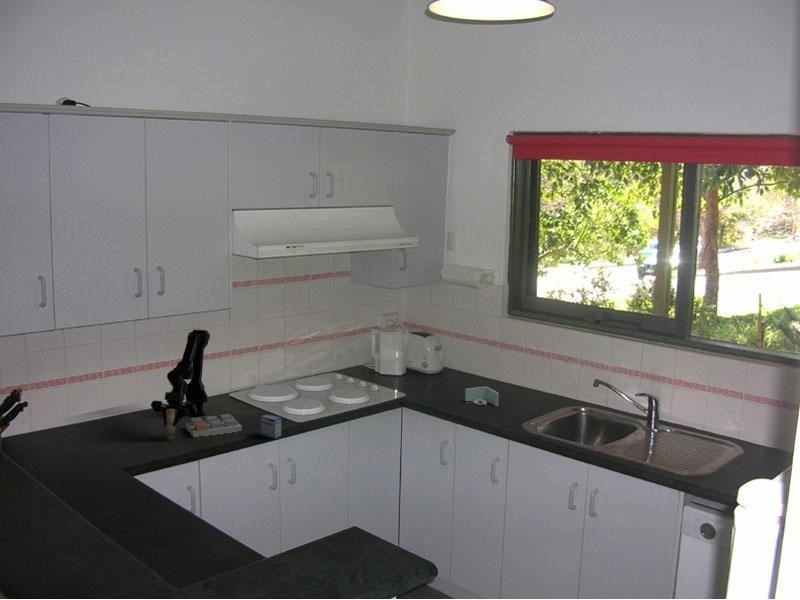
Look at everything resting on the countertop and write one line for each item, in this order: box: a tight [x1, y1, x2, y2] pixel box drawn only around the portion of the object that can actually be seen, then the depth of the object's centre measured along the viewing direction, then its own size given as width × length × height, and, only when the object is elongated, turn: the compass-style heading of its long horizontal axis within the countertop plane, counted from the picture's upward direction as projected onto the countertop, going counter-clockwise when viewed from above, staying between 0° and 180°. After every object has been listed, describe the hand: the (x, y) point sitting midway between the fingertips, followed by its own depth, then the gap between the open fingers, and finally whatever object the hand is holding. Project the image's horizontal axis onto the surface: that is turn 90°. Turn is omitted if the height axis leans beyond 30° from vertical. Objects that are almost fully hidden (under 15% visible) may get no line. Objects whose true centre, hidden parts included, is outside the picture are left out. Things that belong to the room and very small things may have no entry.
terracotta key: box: [194, 422, 207, 431], centre depth 356 cm, size 4×4×3 cm
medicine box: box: [260, 414, 282, 440], centre depth 357 cm, size 8×4×9 cm, turn 62°
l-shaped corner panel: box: [464, 386, 500, 407], centre depth 410 cm, size 12×12×8 cm
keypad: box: [185, 413, 243, 438], centre depth 362 cm, size 13×21×5 cm, turn 118°
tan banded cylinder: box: [166, 409, 176, 441], centre depth 348 cm, size 4×4×13 cm
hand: (169, 425), depth 347 cm, fingers closed on tan banded cylinder, 3 cm apart
